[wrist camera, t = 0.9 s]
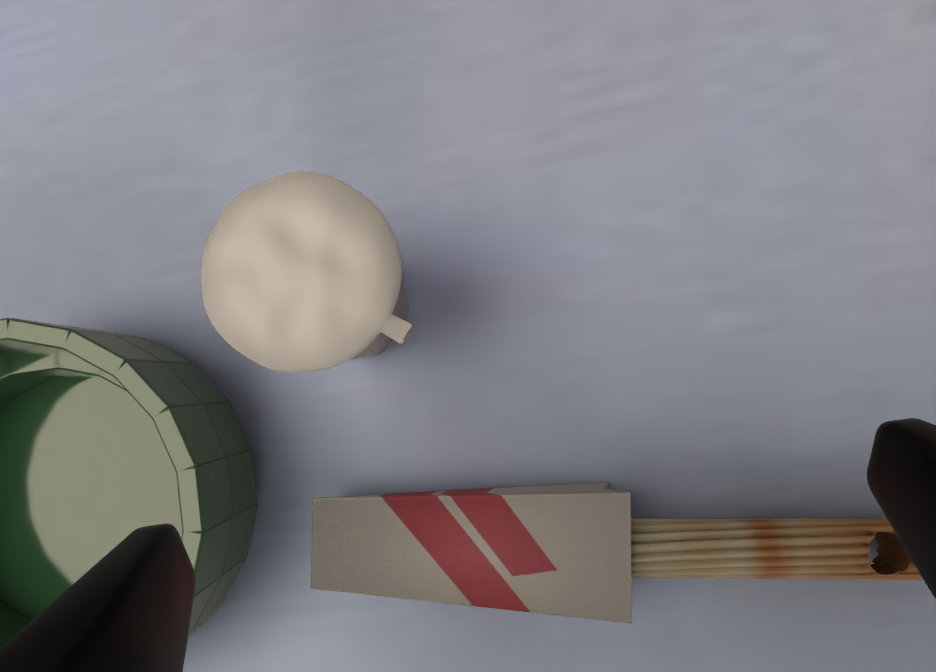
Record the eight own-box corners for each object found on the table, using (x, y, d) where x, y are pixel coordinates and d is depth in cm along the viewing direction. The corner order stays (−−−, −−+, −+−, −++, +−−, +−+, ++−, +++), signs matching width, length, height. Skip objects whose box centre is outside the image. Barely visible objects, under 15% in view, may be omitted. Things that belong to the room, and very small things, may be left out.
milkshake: (402, 412, 23) (346, 436, 13) (272, 332, 23) (116, 293, 13) (471, 300, 23) (468, 238, 13) (341, 222, 23) (240, 101, 13)
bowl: (85, 736, 22) (-28, 838, 17) (-129, 491, 23) (-298, 521, 18) (329, 500, 23) (287, 534, 18) (112, 267, 23) (13, 236, 18)
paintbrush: (303, 486, 20) (964, 499, 20) (321, 474, 22) (903, 485, 23) (298, 621, 19) (969, 629, 20) (316, 592, 22) (906, 600, 23)
